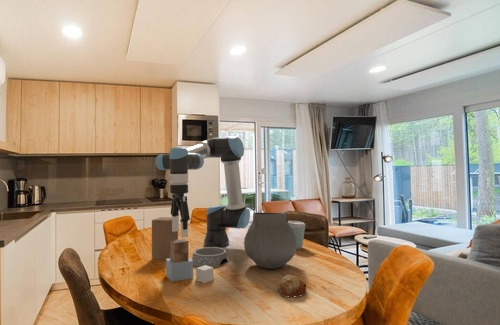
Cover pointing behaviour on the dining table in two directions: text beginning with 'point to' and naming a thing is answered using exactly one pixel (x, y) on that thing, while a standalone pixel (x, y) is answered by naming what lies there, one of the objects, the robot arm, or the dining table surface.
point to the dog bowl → (209, 256)
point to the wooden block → (162, 237)
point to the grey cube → (204, 273)
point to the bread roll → (292, 286)
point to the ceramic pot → (270, 240)
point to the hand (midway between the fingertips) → (179, 234)
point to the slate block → (179, 270)
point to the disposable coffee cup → (298, 232)
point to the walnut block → (179, 250)
